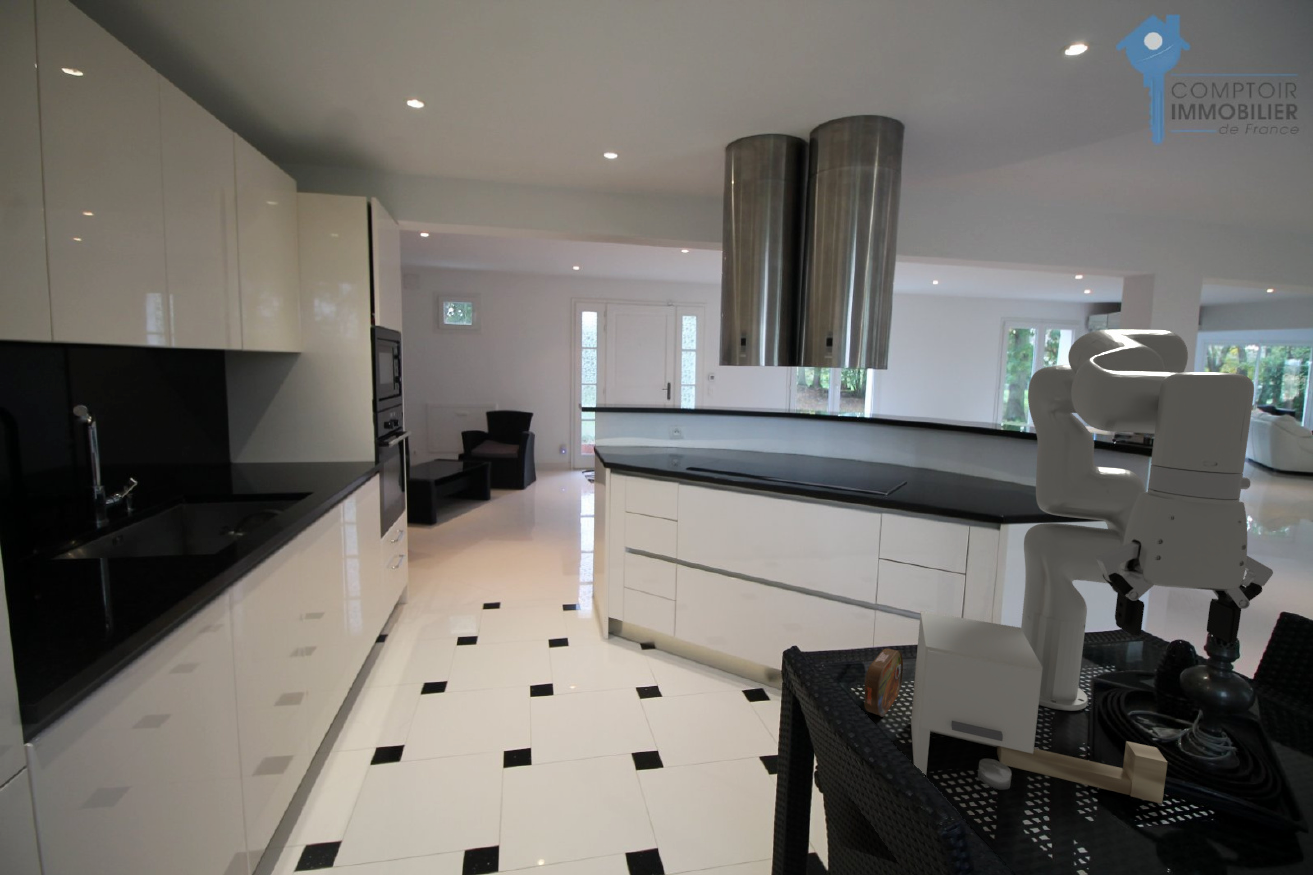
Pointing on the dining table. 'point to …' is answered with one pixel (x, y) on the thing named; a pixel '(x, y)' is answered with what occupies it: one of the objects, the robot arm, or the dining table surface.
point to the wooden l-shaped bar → (1099, 769)
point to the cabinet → (974, 685)
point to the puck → (994, 774)
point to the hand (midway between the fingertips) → (1173, 634)
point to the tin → (883, 681)
